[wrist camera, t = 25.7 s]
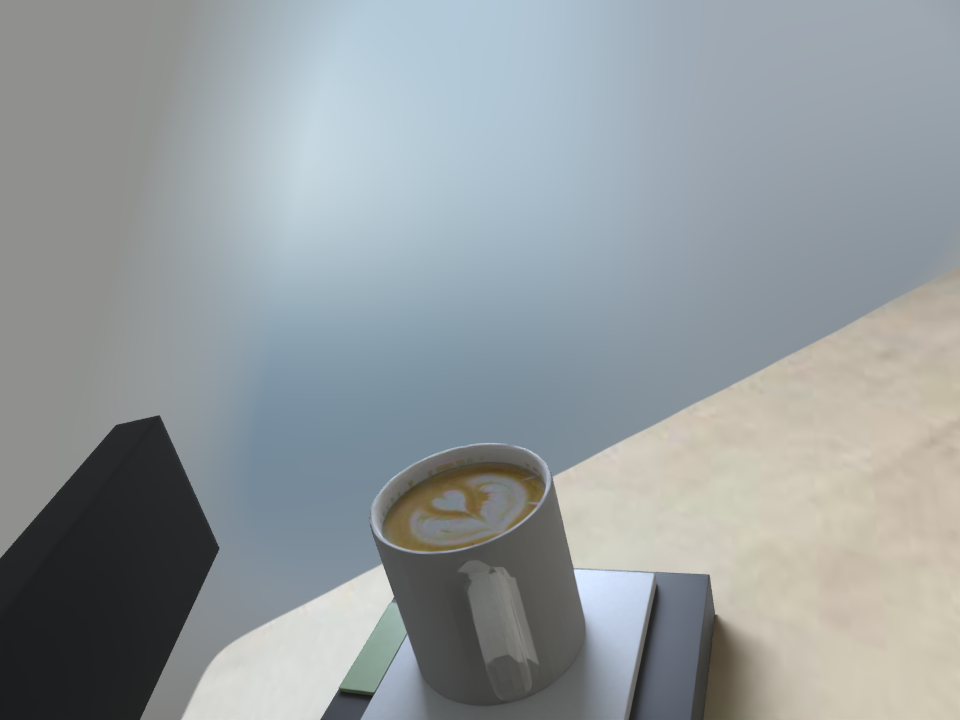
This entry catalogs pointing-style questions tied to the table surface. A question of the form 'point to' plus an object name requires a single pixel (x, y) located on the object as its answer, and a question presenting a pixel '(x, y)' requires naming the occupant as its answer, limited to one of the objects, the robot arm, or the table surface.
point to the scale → (592, 676)
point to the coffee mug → (481, 572)
